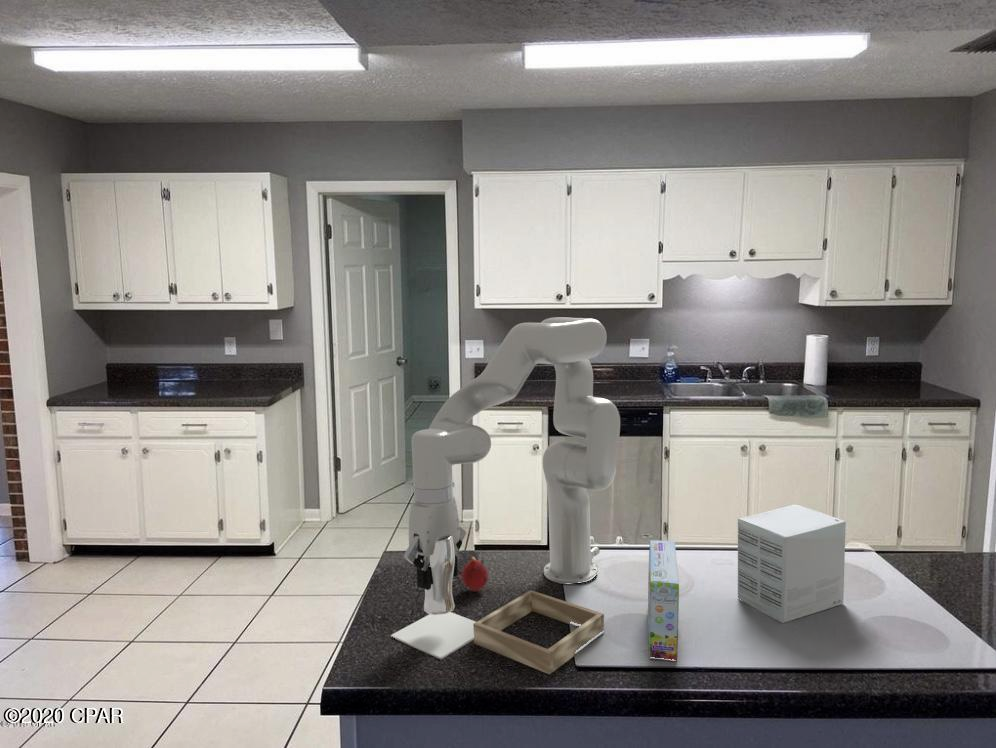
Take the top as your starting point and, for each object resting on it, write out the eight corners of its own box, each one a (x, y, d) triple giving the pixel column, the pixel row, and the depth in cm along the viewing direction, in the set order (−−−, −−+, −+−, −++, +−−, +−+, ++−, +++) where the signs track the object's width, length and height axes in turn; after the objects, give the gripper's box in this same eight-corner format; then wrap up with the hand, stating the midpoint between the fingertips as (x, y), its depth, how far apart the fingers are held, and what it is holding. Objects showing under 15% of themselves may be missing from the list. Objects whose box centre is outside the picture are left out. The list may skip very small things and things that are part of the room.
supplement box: (793, 581, 159) (795, 502, 157) (845, 604, 147) (848, 520, 145) (734, 598, 152) (735, 517, 149) (783, 625, 140) (785, 537, 137)
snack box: (680, 663, 128) (680, 583, 126) (648, 660, 129) (647, 582, 127) (675, 608, 149) (675, 539, 146) (648, 606, 150) (647, 538, 148)
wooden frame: (531, 607, 151) (530, 590, 150) (604, 633, 139) (603, 613, 139) (474, 643, 138) (473, 623, 137) (549, 674, 126) (548, 653, 125)
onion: (492, 588, 161) (491, 554, 160) (481, 598, 156) (480, 564, 155) (469, 584, 164) (468, 551, 163) (458, 594, 159) (456, 560, 158)
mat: (440, 610, 152) (440, 608, 152) (490, 629, 143) (490, 627, 143) (390, 636, 141) (390, 635, 141) (441, 659, 132) (441, 657, 132)
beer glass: (463, 604, 142) (460, 532, 140) (442, 619, 136) (439, 544, 134) (436, 597, 146) (432, 526, 144) (414, 611, 140) (410, 537, 138)
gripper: (451, 479, 147) (454, 562, 149) (386, 501, 134) (391, 591, 136) (478, 485, 142) (481, 571, 144) (413, 509, 129) (418, 602, 131)
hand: (437, 580), depth 140 cm, fingers closed on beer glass, 6 cm apart
